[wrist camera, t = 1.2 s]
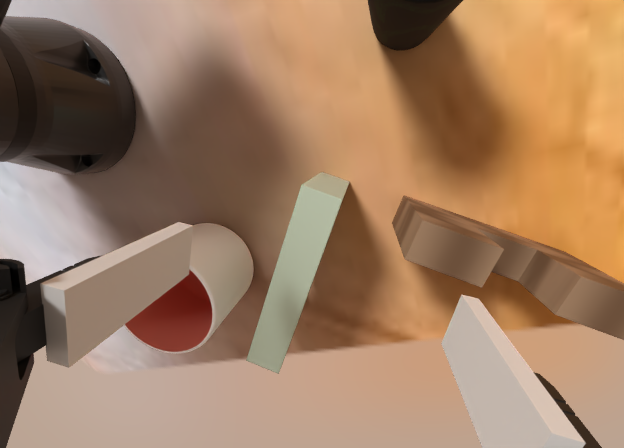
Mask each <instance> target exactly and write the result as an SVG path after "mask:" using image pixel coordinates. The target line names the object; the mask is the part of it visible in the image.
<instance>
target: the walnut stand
mask: <svg viewBox="0 0 624 448" xmlns="http://www.w3.org/2000/svg"><path fill="white" fill-rule="evenodd" d="M392 224H393V227H394V230H395V233H396V236H397V238H398V241H399V244H400V247H401V250H402V253H403V256H404V259H405V260H408V261H411V262H413V263H416V264H419V265H422V266H424V267H427V268H430V269H432V270H435V271H438V272H441V273H443V274H446V275H449V276H451V277H454V278H457V279H460V280H462V281H465V282H468V283H470V284H473V285H476V286H479V287H481V288H482V287H483V285H484V283H485V282H486V280H487V278H488V276H489V275H490V273H491V272H493V273H496V274H499V275H502V276H504V277H507V278H510V279H513V280H515V281H518V282H519V283H520V284H521V285H523V286H524V287H525V288H526V289H527V290H528V291H529V292H530V293H531V294H533V295H534V296H535V297H536V298H537V299H538V300H539V301H540V302H541V303H543V304H544V305H545V306H546V307H547V308H548V309H549V310H550V311H552V312H553V313H554V314H555V315H557V316H560V317H563V318H566V319H568V320H571V321H574V322H576V323H579V324H582V325H585V326H587V327H590V328H593V329H595V330H598V331H601V332H604V333H607V334H609V335H612V336H614V337H617V338H620V339H623V340H624V283H622V282H620V281H618V280H616V279H615V278H613V277H611V276H609V275H607V274H605V273H603V272H602V271H600V270H598V269H596V268H594V267H592V266H590V265H589V264H587V263H585V262H583V261H581V260H579V259H577V258H576V257H574V256H572V255H570V254H568V253H566V252H564V251H561V250H558V249H555V248H552V247H550V246H547V245H544V244H541V243H538V242H535V241H532V240H530V239H527V238H524V237H521V236H518V235H515V234H512V233H510V232H507V231H504V230H501V229H498V228H495V227H493V226H490V225H487V224H484V223H481V222H478V221H475V220H473V219H470V218H467V217H464V216H461V215H458V214H456V213H453V212H450V211H447V210H444V209H441V208H438V207H436V206H433V205H430V204H427V203H424V202H421V201H418V200H416V199H413V198H410V197H407V196H403V199H402V201H401V203H400V205H399V208H398V210H397V212H396V215H395V217H394V219H393V222H392Z"/></svg>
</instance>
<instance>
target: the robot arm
mask: <svg viewBox="0 0 624 448" xmlns="http://www.w3.org/2000/svg"><path fill="white" fill-rule="evenodd" d="M10 3H11V0H0V162H11V163H15V164H20V165H25V166H29V167H34V168H38V169H43V170H48V171H52V172H57V173H62V174H86V173H95V172H100V171H103V170H106V169H108V168H110V167H111V166H113V165H114V164H115V163H117V162H118V161H119V160H120V159H121V158H122V156H123V155H124V154H125V152H126V150H127V149H128V147H129V145H130V142H131V139H132V136H133V132H134V126H135V105H134V98H133V94H132V90H131V87H130V84H129V81H128V79H127V76H126V74H125V72H124V70H123V68H122V66H121V65H120V63H119V62H118V60H117V59H116V57H115V56H114V55H113V53H112V52H111V51H110V50H109V49H108V48H107V47H106V46H105V45H104V44H103V43H102V42H101V41H100V40H98V39H97V38H96V37H94V36H93V35H91V34H89V33H87V32H85V31H83V30H81V29H78V28H76V27H73V26H71V25H68V24H66V23H63V22H61V21H57V20H53V19H48V18H34V17H11V16H5V15H6V13H7V10H8V8H9V5H10ZM192 231H193V225H189V224H185V223H181V222H177V223H175V224H173V225H171V226H168V227H166V228H164V229H162V230H159V231H157V232H155V233H153V234H150V235H148V236H146V237H144V238H141V239H139V240H137V241H135V242H132V243H130V244H128V245H126V246H123V247H121V248H119V249H117V250H115V251H112V252H110V253H108V254H106V255H102V256H97V257H93V258H88V259H86V260H83V261H81V262H79V263H76V264H74V266H69V267H67V268H65V269H63V271H61V270H60V271H58V272H56V273H53V274H51V275H49V276H46V277H44V278H42V279H39V280H37V281H35V282H32V283H30V284H28V285H26V280H25V271H24V264H23V263H21V262H20V261H17V260H12V259H0V448H6V446H7V443H8V440H9V437H10V434H11V431H12V427H13V424H14V421H15V418H16V415H17V412H18V409H19V406H20V403H21V400H22V397H23V394H24V391H25V388H26V385H27V382H28V379H29V376H30V373H31V370H32V367H33V364H34V355H33V353H34V352H36V351H38V350H39V349H41V348H42V347H44V346H45V345H46V353H47V361H50V362H53V363H56V364H59V365H63V366H65V367H70V366H72V365H73V364H74V363H76V362H77V361H78V360H80V359H81V358H82V357H83V356H85V355H86V354H87V353H89V352H90V351H91V350H92V349H94V348H95V347H96V346H98V345H99V344H100V343H101V342H103V341H104V340H105V339H107V338H108V337H109V336H110V335H112V334H113V333H114V332H116V331H117V330H118V329H119V328H121V327H122V326H123V325H125V324H126V323H127V322H128V321H130V320H131V319H132V318H134V317H135V316H136V315H137V314H139V313H140V312H141V311H143V310H144V309H145V308H146V307H148V306H149V305H150V304H152V303H153V302H154V301H155V300H157V299H158V298H159V297H161V296H162V295H163V294H164V293H166V292H167V291H168V290H170V289H171V288H172V287H173V286H175V285H176V284H177V283H179V282H180V281H181V280H182V279H184V278H185V277H186V276H188V275H189V267H190V255H191V243H192ZM441 344H442V346H443V349H444V352H445V354H446V357H447V359H448V362H449V364H450V367H451V369H452V372H453V374H454V377H455V380H456V382H457V385H458V387H459V390H460V392H461V395H462V397H463V400H464V402H465V405H466V407H467V410H468V413H469V415H470V417H471V420H472V423H473V425H474V428H475V430H476V433H477V435H478V438H479V440H480V443H481V445H482V448H602V447H601V446H600V445H599V444H598V442H597V441H596V440H595V438H594V437H593V436H592V435H591V434H590V432H589V431H588V429H587V428H586V427H585V426H584V425H583V423H582V422H581V420H580V419H579V418H578V417H577V416H575V413H574V412H573V410H572V409H571V408H570V407H569V405H568V404H566V401H565V400H564V399H563V397H562V396H561V395H560V394H559V392H558V391H557V390H556V389H555V388H554V386H552V385H551V384H550V383H549V382H548V381H547V380H546V379H544V378H543V377H542V376H541V375H540V374H538V373H534V372H533V371H532V370H531V369H530V367H529V366H528V364H527V363H526V362H525V360H524V359H523V358H522V357H521V355H520V354H519V353H518V351H517V350H516V348H515V347H514V346H513V344H512V343H511V342H510V340H509V339H508V338H507V336H506V335H505V333H504V332H503V331H502V329H501V328H500V327H499V325H498V324H497V323H496V321H495V320H494V319H493V317H492V316H491V315H490V313H489V312H488V311H487V309H486V308H485V306H484V305H483V304H482V302H481V301H480V300H479V299H478V298H474V297H470V296H466V295H461V297H460V299H459V302H458V304H457V307H456V309H455V312H454V314H453V316H452V319H451V321H450V324H449V326H448V329H447V331H446V334H445V336H444V338H443V341H442V343H441Z"/></svg>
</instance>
